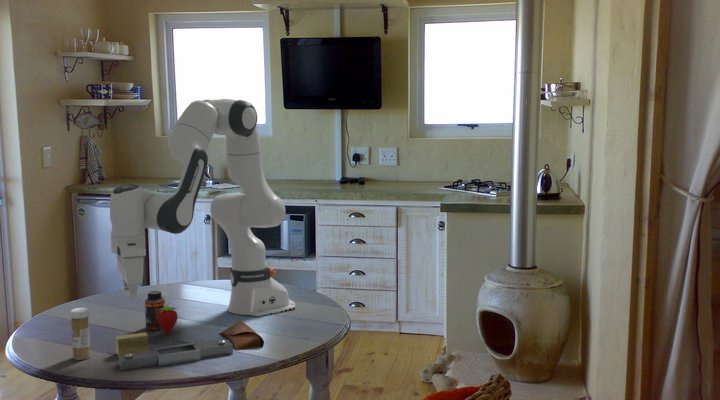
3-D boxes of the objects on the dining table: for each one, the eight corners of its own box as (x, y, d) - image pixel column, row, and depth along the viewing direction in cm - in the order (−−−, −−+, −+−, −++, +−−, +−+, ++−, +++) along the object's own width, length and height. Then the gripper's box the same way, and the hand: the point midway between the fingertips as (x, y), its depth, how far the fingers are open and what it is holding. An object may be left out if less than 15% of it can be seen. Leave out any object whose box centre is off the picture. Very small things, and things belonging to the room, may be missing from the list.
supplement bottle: (170, 326, 222) (168, 290, 221) (157, 332, 217) (155, 295, 215) (154, 324, 225) (153, 288, 223) (141, 329, 219) (140, 293, 218)
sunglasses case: (216, 333, 216) (226, 312, 217) (235, 341, 219) (245, 321, 220) (236, 351, 200) (247, 329, 201) (256, 359, 203) (268, 338, 204)
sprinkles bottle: (69, 357, 194) (67, 309, 193) (85, 353, 198) (83, 306, 196) (78, 361, 191) (75, 312, 190) (94, 357, 195) (91, 309, 193)
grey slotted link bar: (226, 346, 204) (226, 336, 203) (234, 354, 197) (233, 343, 197) (118, 363, 191) (117, 351, 190) (122, 371, 184) (121, 360, 184)
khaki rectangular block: (146, 349, 202) (145, 332, 201) (148, 352, 199) (147, 335, 198) (116, 353, 198) (116, 336, 198) (118, 357, 196) (117, 339, 195)
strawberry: (176, 329, 219) (175, 297, 218) (179, 337, 212) (178, 304, 211) (156, 331, 217) (155, 299, 216) (159, 339, 210) (158, 306, 209)
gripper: (110, 239, 202) (112, 287, 204) (121, 252, 184) (123, 305, 186) (134, 237, 205) (135, 285, 207) (146, 250, 187) (148, 302, 189)
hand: (130, 294), depth 196 cm, fingers open, 8 cm apart
